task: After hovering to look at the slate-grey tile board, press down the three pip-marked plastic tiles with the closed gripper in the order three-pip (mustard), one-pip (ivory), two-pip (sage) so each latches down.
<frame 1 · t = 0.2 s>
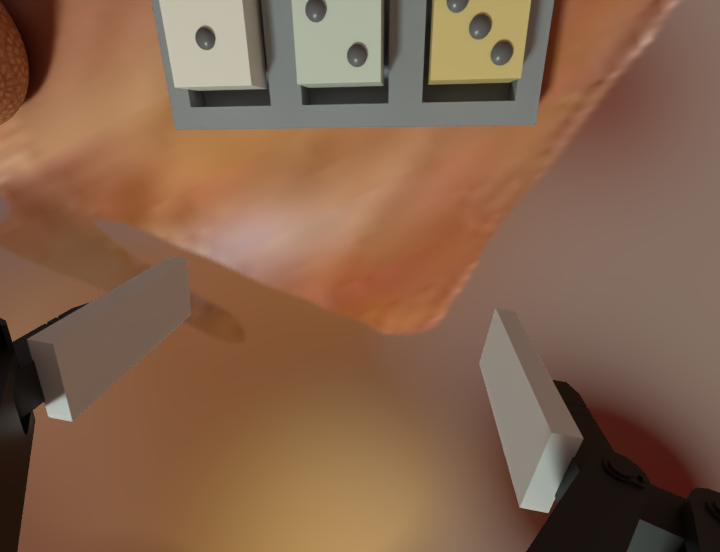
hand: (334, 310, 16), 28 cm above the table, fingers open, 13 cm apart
tile board: (349, 48, 36), on the table
tile one: (216, 43, 33), point 5 cm above the table, slide at 0.0 cm
tile three: (475, 32, 30), point 5 cm above the table, slide at 0.0 cm
tile two: (340, 38, 32), point 5 cm above the table, slide at 0.0 cm
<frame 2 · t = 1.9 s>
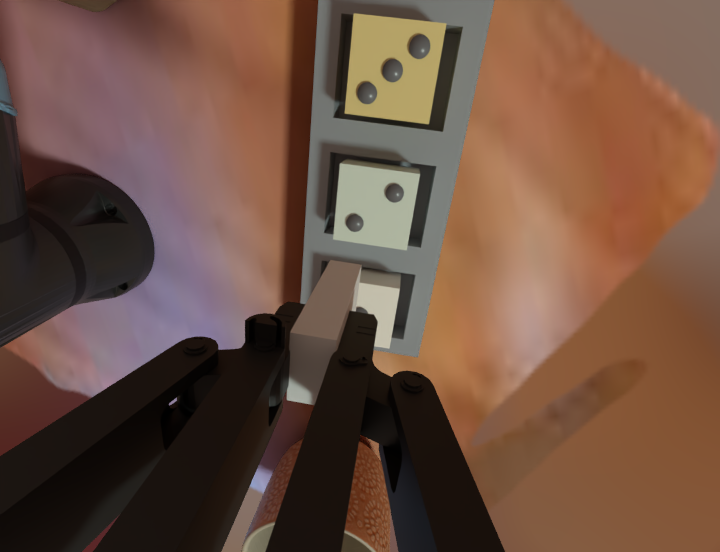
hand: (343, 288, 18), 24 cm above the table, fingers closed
planter: (337, 458, 57), on the table
tile board: (380, 193, 40), on the table
tile one: (362, 305, 40), point 5 cm above the table, slide at 0.0 cm
tile three: (393, 73, 31), point 5 cm above the table, slide at 0.0 cm
tile two: (376, 203, 36), point 5 cm above the table, slide at 0.0 cm
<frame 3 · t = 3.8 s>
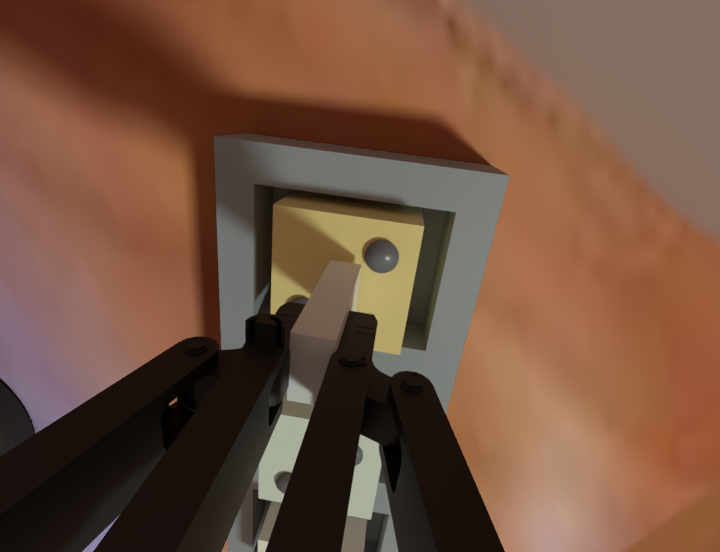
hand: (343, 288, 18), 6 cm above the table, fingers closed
tile board: (338, 388, 28), on the table
tile three: (346, 270, 20), point 4 cm above the table, slide at 1.5 cm, touching gripper
tile two: (324, 442, 23), point 5 cm above the table, slide at 0.0 cm
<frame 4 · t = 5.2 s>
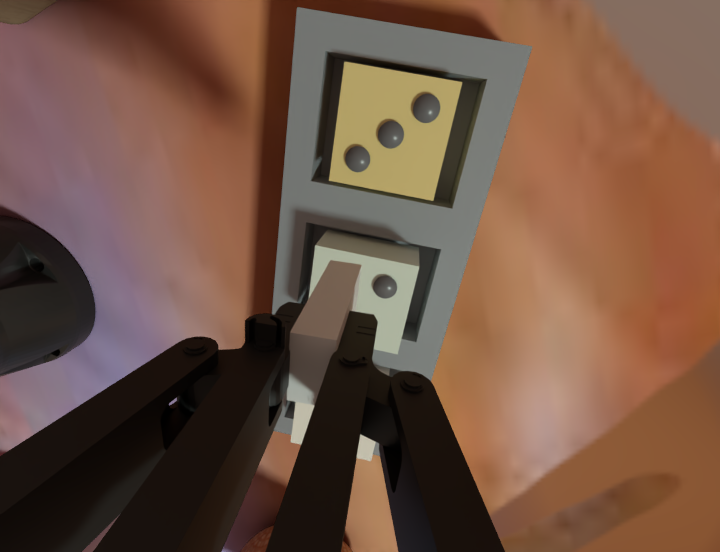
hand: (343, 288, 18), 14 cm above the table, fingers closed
planter: (308, 545, 49), on the table
tile board: (369, 266, 33), on the table
tile one: (340, 404, 32), point 5 cm above the table, slide at 0.0 cm
tile three: (392, 133, 25), point 3 cm above the table, slide at 1.8 cm
tile two: (361, 290, 28), point 5 cm above the table, slide at 0.0 cm
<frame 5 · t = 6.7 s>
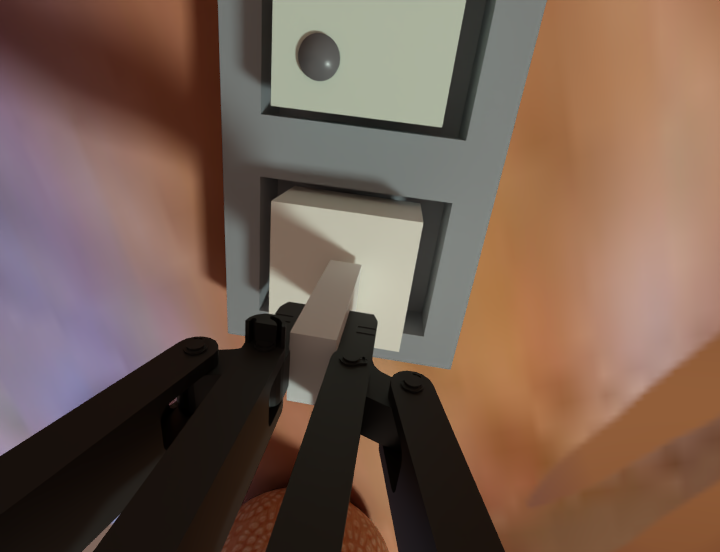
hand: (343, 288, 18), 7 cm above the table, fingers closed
planter: (312, 520, 37), on the table
tile board: (378, 45, 20), on the table
tile one: (344, 267, 20), point 5 cm above the table, slide at 0.3 cm, touching gripper
tile two: (370, 24, 16), point 5 cm above the table, slide at 0.0 cm
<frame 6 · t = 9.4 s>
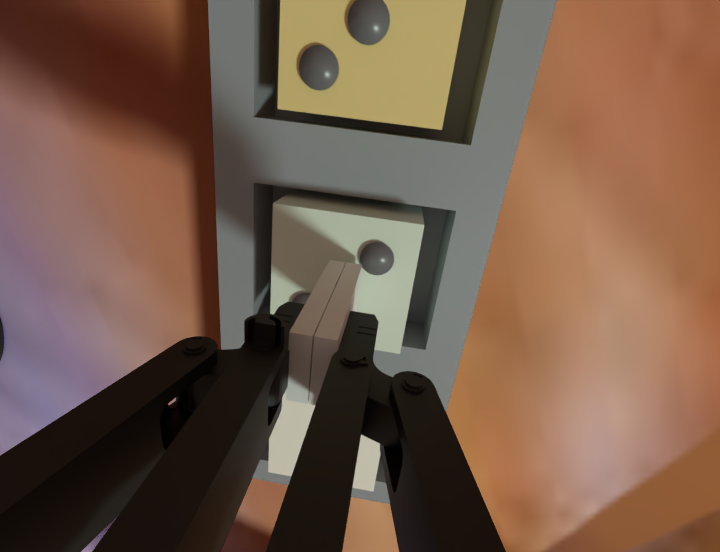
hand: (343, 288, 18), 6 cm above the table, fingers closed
tile board: (354, 247, 24), on the table
tile one: (330, 419, 25), point 3 cm above the table, slide at 1.8 cm
tile three: (373, 31, 16), point 3 cm above the table, slide at 1.8 cm
tile two: (346, 269, 20), point 4 cm above the table, slide at 1.5 cm, touching gripper
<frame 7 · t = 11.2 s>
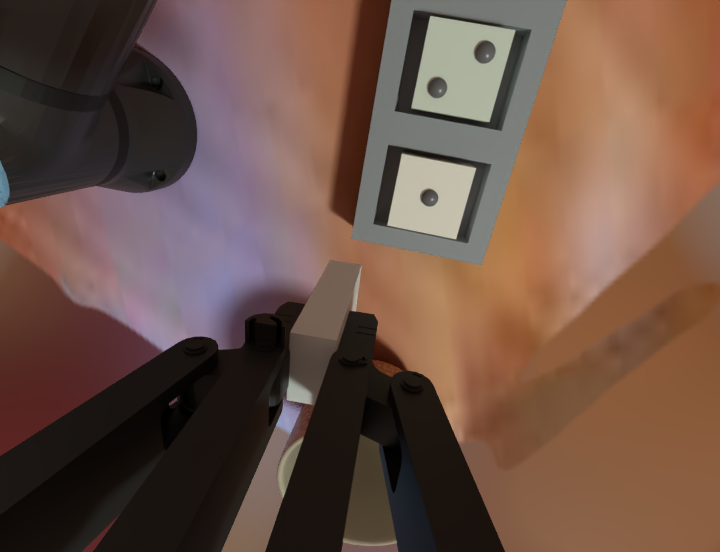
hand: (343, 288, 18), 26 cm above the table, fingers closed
planter: (371, 393, 53), on the table
tile board: (454, 77, 37), on the table
tile one: (429, 194, 38), point 3 cm above the table, slide at 1.8 cm
tile two: (458, 73, 34), point 3 cm above the table, slide at 1.8 cm
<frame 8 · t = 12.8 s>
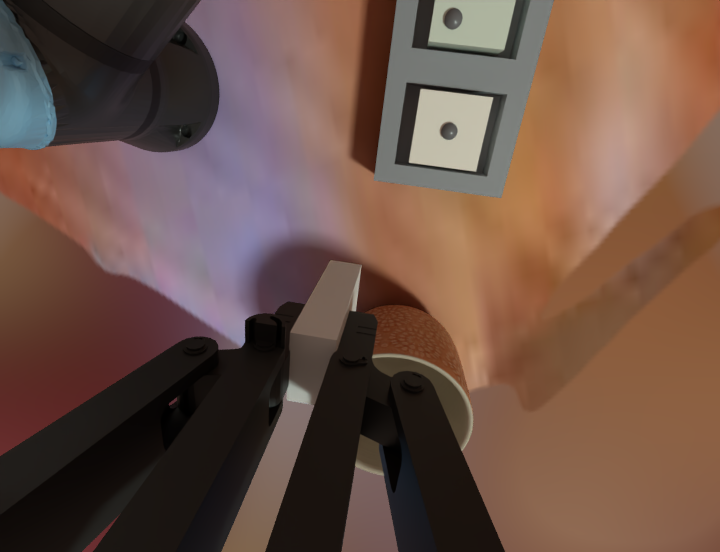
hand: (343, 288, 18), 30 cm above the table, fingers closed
planter: (396, 342, 55), on the table
tile board: (467, 14, 38), on the table
tile one: (447, 130, 40), point 3 cm above the table, slide at 1.8 cm
tile two: (471, 5, 35), point 3 cm above the table, slide at 1.8 cm
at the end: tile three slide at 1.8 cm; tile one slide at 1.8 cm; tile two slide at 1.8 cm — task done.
